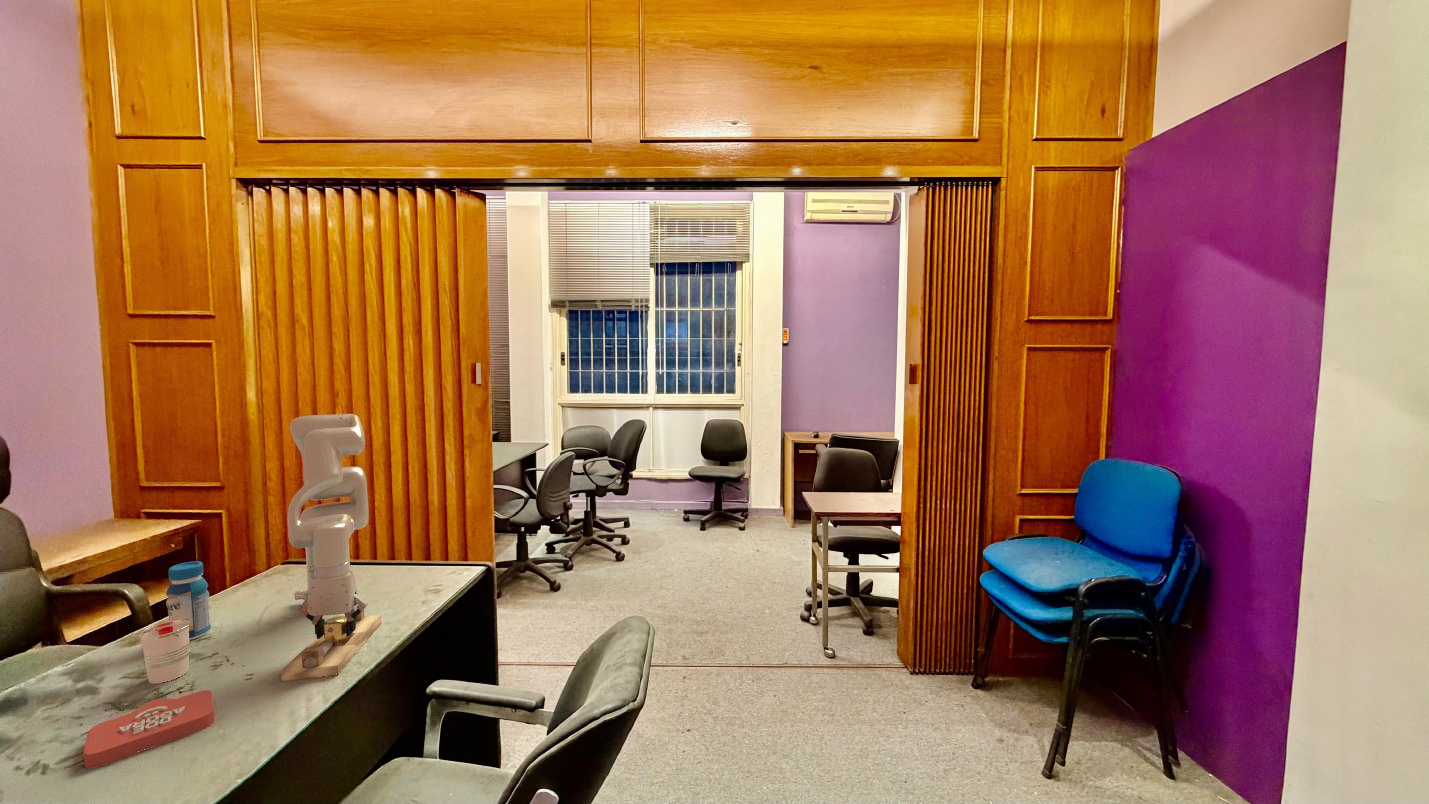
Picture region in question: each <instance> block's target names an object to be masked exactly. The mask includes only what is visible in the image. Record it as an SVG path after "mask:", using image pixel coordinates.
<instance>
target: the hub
mask: <svg viewBox="0 0 1429 804" xmlns="http://www.w3.org/2000/svg"><path fill="white" fill-rule="evenodd" d="M346 622H347V618H346V617H345V615H340V616H339V615H338V616H333V617H330V618H328V619H326V620H325V621H324V623H323V627H324V641H326V640H330V641H332V643H333V646H332V647H334V646H344V645H345V644H346V643H347V642H348V639H347V636H346Z"/></svg>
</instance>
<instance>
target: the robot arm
mask: <svg viewBox="0 0 1429 804" xmlns="http://www.w3.org/2000/svg"><path fill="white" fill-rule="evenodd" d="M360 419H361V418H360V417H359V416H358V415H357V414H353V413H338V414H316V415H315V414H314V415H303V416H298V417H295V418H294V419H292V420H291V421H290V424H289V430H290V434H291V437H292V440H293V442H294V444H295V445H296V447H297V448H298V451H299V452H300V455H301V458H302V464H303V465H302V466H303V467H302V468H303V469H302V470H303V486H302V487H300V488H299V490H298V491H297V492H295V494H294V495H293V497H292V499H291V500H290V503H289V505H288V509H287V517H286V518H287V535H288V536H287V537H288V541H289V544H290V545H291V546H292V547H293V548H297V549H303V548H304V549H305V560H306V561H305V562H306V563H305V565H306V579H307V580H306V581H307V582H306V583H307V589H306V590H296V591H295V592H294V594H293V595H294V596H293V597H294V600H295V601H298V600H304V601H303V602H302V604H301V607H302V608H300V610H299V613H300V614H302V615H303V616H305V617H306V619H308V620H309V621H310V622H311V624H312V625H313V626H314V635H316V637H317V639H320V638H321V637H322V636H323V635H324V627H323V623H324V621H326V620H325V618H324V616H334V615H342V614H344V616H346V618H347V620H348V621H347V622H346V636H350V635H351V634H352V633H353V632H354V631H355V629H356V620H355V617H356V616H358V615H359V614H360V612H361V611H362V610H363V609H364V610H365V608H367V607H368V605H369V603H368V601H366V600H364V599H363V598H362V597H361V596H359V593H358V585H357V580H356V577H355V573H354V571H353V570H351V563H350V562H351V560H350V542H349V541H350V540H349V539H350V537H351V536H352V534H353V533H354V532H355V531H356V530H361V529H363V528H365V527H366V526H367V525H368V524H369V515H370V514H369V499H368V498H369V497H368V496H369V495H368V483H367V476H366V473H365V471H364V469H363V468H361V467H359V466H346V467H345V466H343V461H342V456H343V457H345V456H356V455H361V454H362V453H363V452H364V451H365V446H366V438H365V433H364V432H365V431H364V428H363V425H362V422H361V420H360ZM340 498H350V499H351V500H344V501H335V502H330V503H329V502H327V503H321V504H316V505H312V506H309V507H307V508H305V509H304V510H303V511H302V508H303V506H304V505H305V504H306V503H307V502H308V501H309V500H311V501H325V500H332V499H340ZM356 605H359V608H358V609H357V610H355V609H354V607H353V606H356ZM316 637H315V638H316Z"/></svg>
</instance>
